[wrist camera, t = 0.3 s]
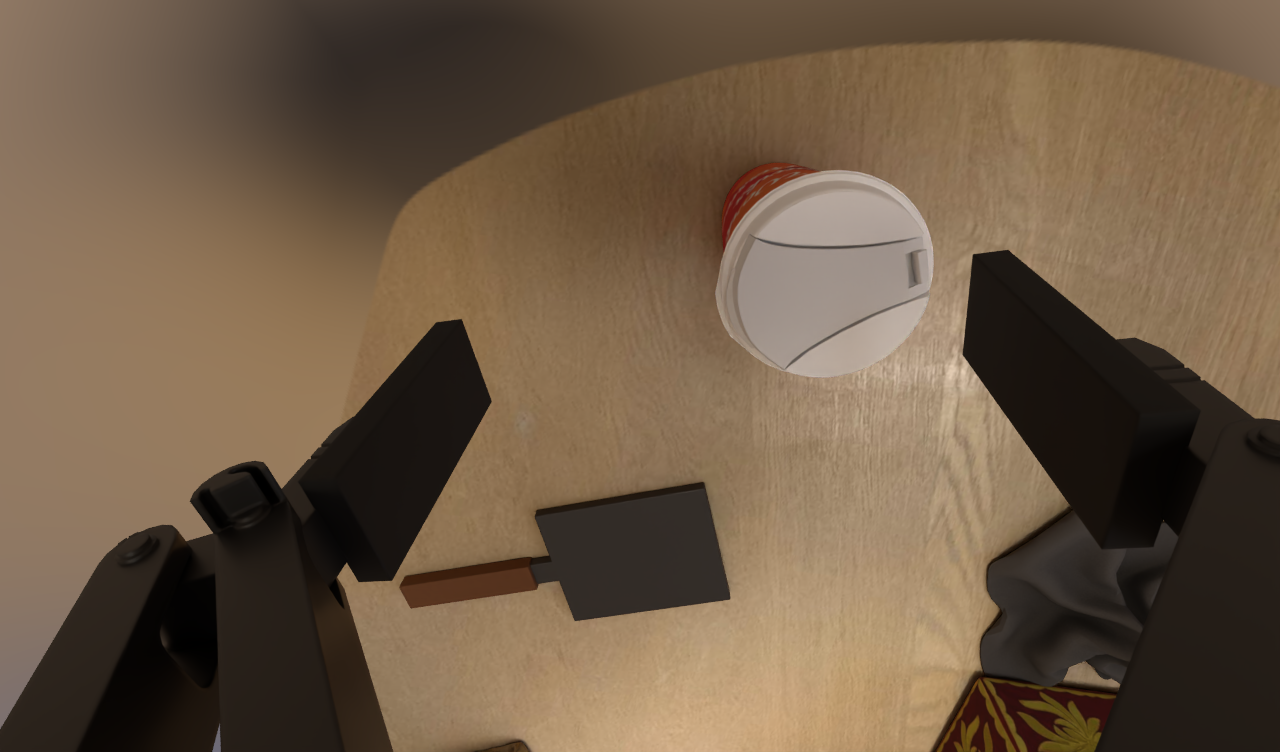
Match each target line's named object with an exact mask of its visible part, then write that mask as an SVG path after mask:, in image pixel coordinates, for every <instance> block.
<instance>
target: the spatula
mask: <svg viewBox="0 0 1280 752" xmlns="http://www.w3.org/2000/svg"><path fill="white" fill-rule="evenodd" d="M535 519H536V522H537V524H538V527H539V529H540V532H541V535H542V537H543V540H544V542H545V545H546V548H547V550H548V553H549V555H550V556H547V557H541V558H534V559H532V558H531V557H527V558H520V559H514V560H507V561H501V562H495V563H488V564H482V565H476V566H469V567H463V568H456V569H450V570H444V571H437V572H431V573H425V574H418V575H412V576H405V577H404V579H403V581H402V583H401V585H400V587H399V588H400V590H401V591H402V593H403V595H404V597H405V599H406V601H407V603H408V605H409V606H410V608H417V607H424V606H430V605H437V604H444V603H450V602H457V601H464V600H471V599H477V598H484V597H491V596H498V595H504V594H511V593H518V592H525V591H531V590H537V588H538V584H540V583H546V582H553V581H560V584H561V586H562V589H563V592H564V594H565V597H566V599H567V602H568V605H569V607H570V610H571V612H572V615H573V618H574V620H575V621H579V620H587V619H594V618H601V617H608V616H615V615H622V614H630V613H637V612H644V611H651V610H658V609H665V608H673V607H680V606H687V605H694V604H701V603H708V602H716V601H723V600H730V592H729V587H728V583H727V579H726V574H725V570H724V566H723V562H722V557H721V553H720V549H719V544H718V540H717V536H716V532H715V527H714V523H713V519H712V514H711V510H710V506H709V502H708V497H707V493H706V489H705V485H704V483H698V484H692V485H686V486H680V487H674V488H668V489H662V490H656V491H650V492H644V493H638V494H632V495H626V496H620V497H614V498H609V499H603V500H597V501H591V502H585V503H579V504H573V505H567V506H561V507H555V508H549V509H543V510H537V511H536V514H535Z"/></svg>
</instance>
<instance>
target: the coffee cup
mask: <svg viewBox="0 0 1280 752" xmlns="http://www.w3.org/2000/svg"><path fill="white" fill-rule="evenodd" d="M722 238H723V251H724V254H723V257H722V260H721V265H720V271H719V277H718V282H717V286H716V291H715V296H716V302H717V308H718V311H719V314H720V317H721V320H722V323H723V325H724V326H725V328H726V330H727V332H728V334H729V335H730V336H731V337H732V338H733V339H734V340H735V341H737V342H738V343H739V344H740V345H741V346H743V347H744V348H745V349H746V350H747V351H748V352H749V353H750V354H751V355H753V356H754V357H755V358H757V359H759V360H760V361H762V362H763V363H765V364H767V365H769V366H771V367H773V368H776V369H778V370H781V371H785V372H789V373H792V374H796V375H800V376H806V377H815V378H827V377H837V376H843V375H848V374H851V373H854V372H857V371H861V370H863V369H865V368H867V367H869V366H872V365H874V364H876V363H877V362H879V361H880V360H882V359H884V358H885V357H887V356H888V355H889V354H891V353H892V352H893V351H894V350H895V349H897V348H898V347H899V346H900V345H901V344H902V343H903V342H904V341H905V340H906V339H907V337H908V336H909V335H910V334H911V333H912V331H913V330H914V328H915V327H916V325H917V324H918V323H919V321H920V319H921V317H922V315H923V313H924V311H925V309H926V306H927V303H928V300H929V297H930V292H929V289H930V286H931V282H932V275H933V269H934V261H933V247H932V242H931V237H930V234H929V231H928V228H927V226H926V223H925V221H924V219H923V217H922V216H921V214H920V213H919V211H918V209H917V208H916V206H915V205H914V204H913V203H912V202H911V201H910V200H909V199H908V198H907V196H906V195H905V194H903V193H902V192H901V191H899V190H898V189H897V188H895V187H894V186H893V185H891V184H889V183H887V182H885V181H883V180H881V179H879V178H877V177H874V176H871V175H867V174H864V173H861V172H854V171H845V170H833V171H818V170H814V169H810V168H806V167H802V166H798V165H794V164H788V163H769V164H764V165H761V166H758V167H756V168H754V169H752V170H750V171H748V172H747V173H746V174H744V175H743V176H742V177H741V178H740V179H739V180H738V181H737V182H736V183H735V184H734V185H733V187H732V188H731V190H730V192H729V193H728V195H727V198H726V200H725V203H724V207H723V213H722Z"/></svg>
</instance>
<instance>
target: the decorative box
mask: <svg viewBox="0 0 1280 752" xmlns="http://www.w3.org/2000/svg"><path fill="white" fill-rule="evenodd" d="M1116 695H1117V694H1112V693H1105V692H1097V691H1090V690H1082V689H1075V688H1067V687H1060V686H1052V687H1045V686H1041V685H1039V684H1036V683H1030V682H1022V681H1015V680H1007V679H999V678H991V677H979V679H978V680H977V681H976V682H975V684H974V685H973V687H972V689H971V691H970V692H969V694H968V696H967V697H966V699H965V701H964V703H963V704H962V706H961V708H960V709H959V711H958V713H957V715H956V716H955V718H954V720H953V722H952V723H951V725H950V727H949V728H948V730H947V732H946V734H945V735H944V737H943V739H942V741H941V742H940V744H939V746H938V748H937V749H936V751H935V752H1094V751H1095V748H1096V746H1097V743H1098V741H1099V738H1100V736H1101V733H1102V731H1103V728H1104V726H1105V723H1106V720H1107V718H1108V715H1109V713H1110V710H1111V708H1112V705H1113V703H1114V700H1115V698H1116Z"/></svg>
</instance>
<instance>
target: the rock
mask: <svg viewBox="0 0 1280 752" xmlns="http://www.w3.org/2000/svg"><path fill="white" fill-rule="evenodd" d="M480 752H528V750H527V748H526V746H525V745H524V744H523V743H521V742H519V743H512V744H509V745H505V746H502V747H496V748H491V749H489V750H484V751H480Z"/></svg>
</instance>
